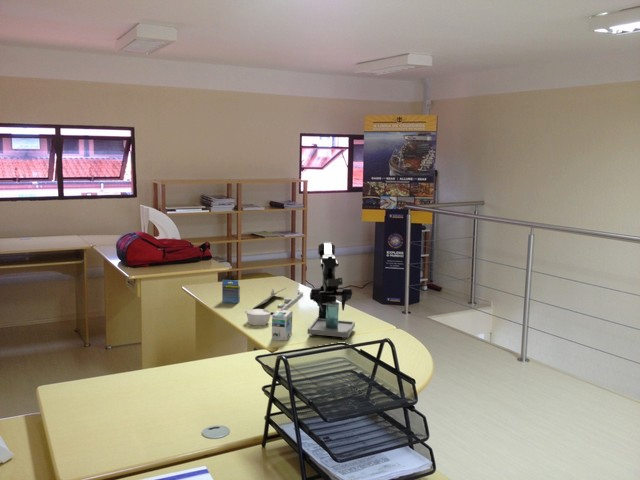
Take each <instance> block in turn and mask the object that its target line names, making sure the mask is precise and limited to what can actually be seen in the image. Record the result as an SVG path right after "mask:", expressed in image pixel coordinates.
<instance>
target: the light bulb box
mask: <svg viewBox="0 0 640 480" xmlns="http://www.w3.org/2000/svg"><path fill="white" fill-rule="evenodd" d="M291 335H293V310H289V309H287V310H281V308H280V309H279V308H278V309H277V310H276V311H274V313H272V315H271V340H279V341H287V340H288V339H289V338H290V337H291Z"/></svg>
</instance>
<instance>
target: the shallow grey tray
mask: <svg viewBox="0 0 640 480" xmlns="http://www.w3.org/2000/svg"><path fill="white" fill-rule="evenodd" d="M355 323H356V322H355V321H350V320H340V319H338V328H336V329H329V328H326V319H321V318H318V317H317V318H315V320H314V321H312V323H311V324H310V326H308V328H307V334H308V335H309V334H310V337H312V338H315V335H319V336H331V337H340V338H342V341H346V340H347V339H348V338H349V337H350V336H351V333H352V332H353V330H354V328H355V325H356V324H355Z"/></svg>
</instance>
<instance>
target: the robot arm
mask: <svg viewBox="0 0 640 480" xmlns="http://www.w3.org/2000/svg"><path fill="white" fill-rule="evenodd" d="M335 254H336V245H335V244H333V242H332V241H323V242H322V243H321V244H318V248H317V255H319V256H318V257H319V260H320V265H319V266H320V268H321V270H322V273H321V275H322V276H321V277H322V283H321V284H322V285H321V286H320V288H311V289H310V293H309V299H310V300H311V301H313V302H315V303H316V304H317V305H316V306H317V307H318V316H317V318H319V319H326V303H327V302H337V297H341V310H342V311H344V310H345V305H346V302H348V301H349V300H351V299H352V297H353V296H352V295H353V289H352V288H342V290H341V291H338V290H339V286H342V285H343V277H337V278H336V270H337V268H338V267H339V262H338V259H336V256H335Z"/></svg>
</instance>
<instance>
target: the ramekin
mask: <svg viewBox="0 0 640 480" xmlns="http://www.w3.org/2000/svg"><path fill="white" fill-rule="evenodd" d="M271 312H272V311H270V310H268V309H265V308H264V309H262V308H254V309H253V308H251V309H247V310H246V315H247V321H248V323H249V324H250V325H254V326H265V325H268V323H269V322H270V317H271V316H272V315H271V314H272V313H271Z"/></svg>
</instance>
